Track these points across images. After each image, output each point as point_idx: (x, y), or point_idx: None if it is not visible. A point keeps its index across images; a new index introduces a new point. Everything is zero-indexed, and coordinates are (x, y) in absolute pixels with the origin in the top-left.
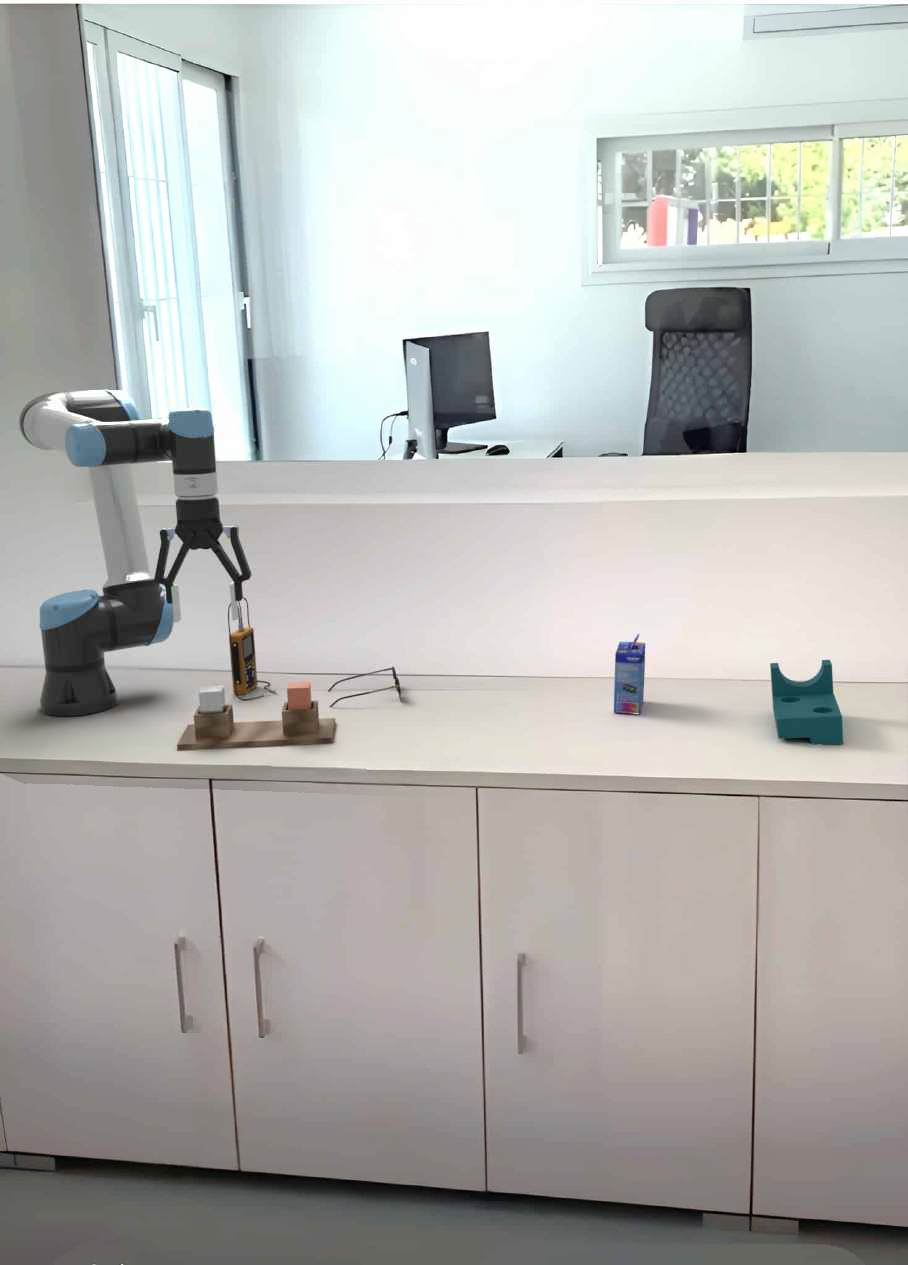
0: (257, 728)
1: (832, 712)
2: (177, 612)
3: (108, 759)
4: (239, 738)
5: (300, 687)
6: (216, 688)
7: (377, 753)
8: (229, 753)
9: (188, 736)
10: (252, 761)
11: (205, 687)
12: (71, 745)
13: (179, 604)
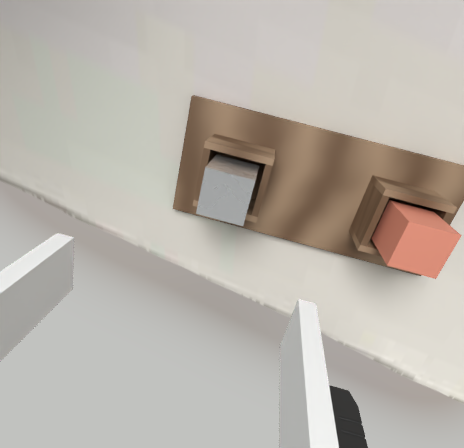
0: (315, 176)
1: None
2: (46, 314)
3: (78, 207)
4: (273, 219)
5: (418, 269)
6: (235, 199)
7: (458, 337)
8: (251, 252)
9: (191, 173)
10: (278, 296)
11: (211, 180)
12: (3, 110)
13: (28, 277)
